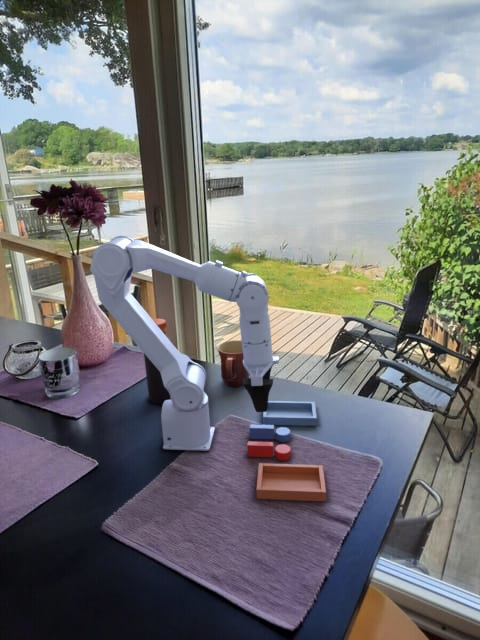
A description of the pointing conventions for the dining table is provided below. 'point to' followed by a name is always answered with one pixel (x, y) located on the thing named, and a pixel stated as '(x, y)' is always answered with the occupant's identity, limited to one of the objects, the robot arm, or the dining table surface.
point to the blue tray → (290, 413)
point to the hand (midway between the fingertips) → (262, 401)
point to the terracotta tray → (291, 482)
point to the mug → (232, 364)
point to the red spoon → (268, 450)
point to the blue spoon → (269, 432)
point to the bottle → (156, 374)
